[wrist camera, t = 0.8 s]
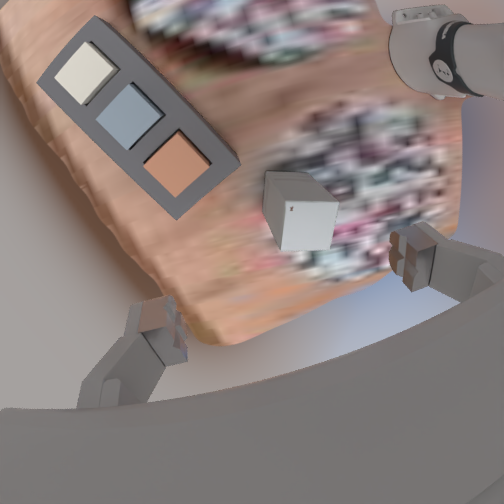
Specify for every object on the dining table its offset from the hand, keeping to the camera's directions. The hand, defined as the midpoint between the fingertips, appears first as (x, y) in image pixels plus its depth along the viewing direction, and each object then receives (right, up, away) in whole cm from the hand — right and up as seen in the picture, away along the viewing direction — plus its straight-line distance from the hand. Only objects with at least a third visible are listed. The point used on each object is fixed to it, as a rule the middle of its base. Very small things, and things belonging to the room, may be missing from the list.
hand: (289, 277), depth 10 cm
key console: (-17, +21, +27) cm, 38 cm away
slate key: (-17, +19, +24) cm, 35 cm away
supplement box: (+4, +11, +38) cm, 39 cm away
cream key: (-22, +25, +19) cm, 39 cm away
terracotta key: (-11, +14, +28) cm, 33 cm away
